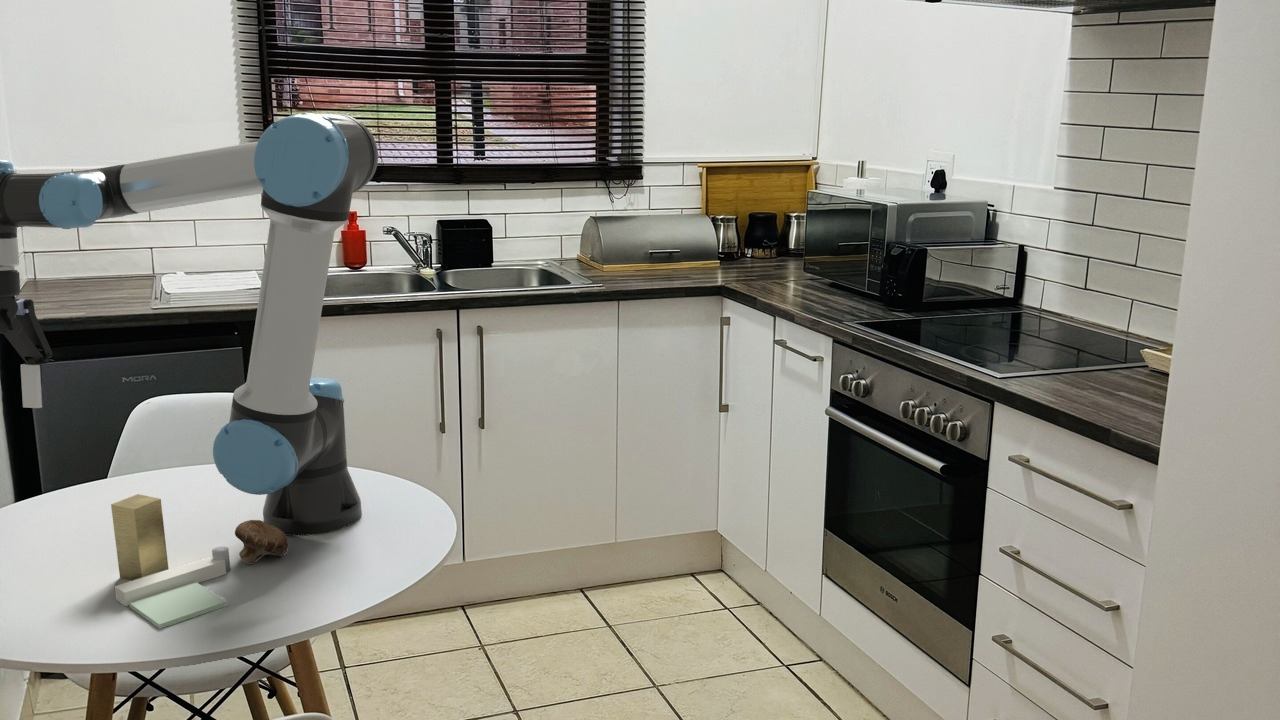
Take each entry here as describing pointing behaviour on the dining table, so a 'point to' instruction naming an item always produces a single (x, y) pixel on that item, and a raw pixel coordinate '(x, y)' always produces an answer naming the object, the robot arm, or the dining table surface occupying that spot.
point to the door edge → (175, 577)
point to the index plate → (177, 604)
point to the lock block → (139, 536)
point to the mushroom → (260, 540)
